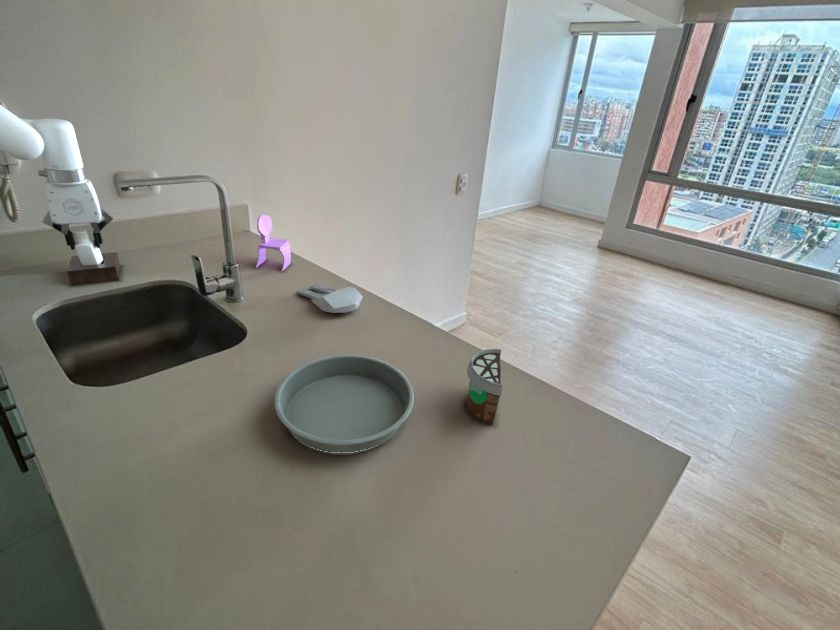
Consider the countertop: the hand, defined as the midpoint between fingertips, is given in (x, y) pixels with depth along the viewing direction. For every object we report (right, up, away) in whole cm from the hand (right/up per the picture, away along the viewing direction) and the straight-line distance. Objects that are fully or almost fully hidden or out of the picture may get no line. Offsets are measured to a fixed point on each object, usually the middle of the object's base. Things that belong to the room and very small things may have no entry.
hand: (86, 246), depth 116 cm
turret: (+63, -15, +2) cm, 65 cm away
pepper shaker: (0, -4, +3) cm, 5 cm away
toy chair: (+43, -3, +19) cm, 47 cm away
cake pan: (+73, -36, -33) cm, 88 cm away
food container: (+98, -36, -29) cm, 108 cm away
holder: (0, -7, +4) cm, 8 cm away
